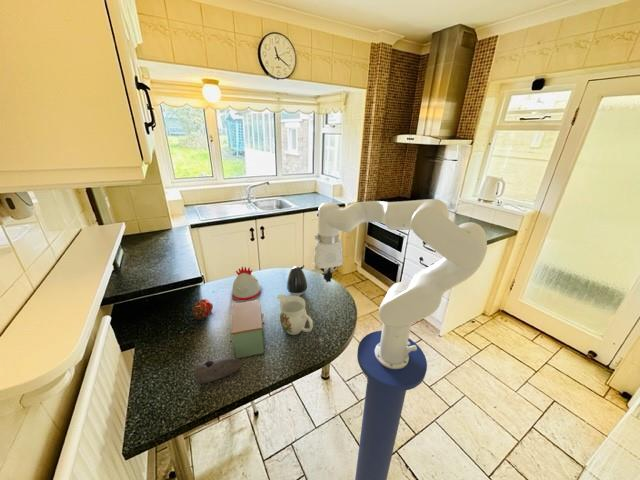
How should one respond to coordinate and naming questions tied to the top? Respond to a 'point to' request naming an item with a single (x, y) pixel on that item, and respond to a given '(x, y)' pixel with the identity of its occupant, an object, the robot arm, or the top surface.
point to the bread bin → (247, 328)
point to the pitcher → (293, 314)
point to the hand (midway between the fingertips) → (327, 280)
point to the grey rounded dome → (245, 285)
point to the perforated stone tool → (216, 369)
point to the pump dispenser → (296, 281)
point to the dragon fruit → (202, 309)
